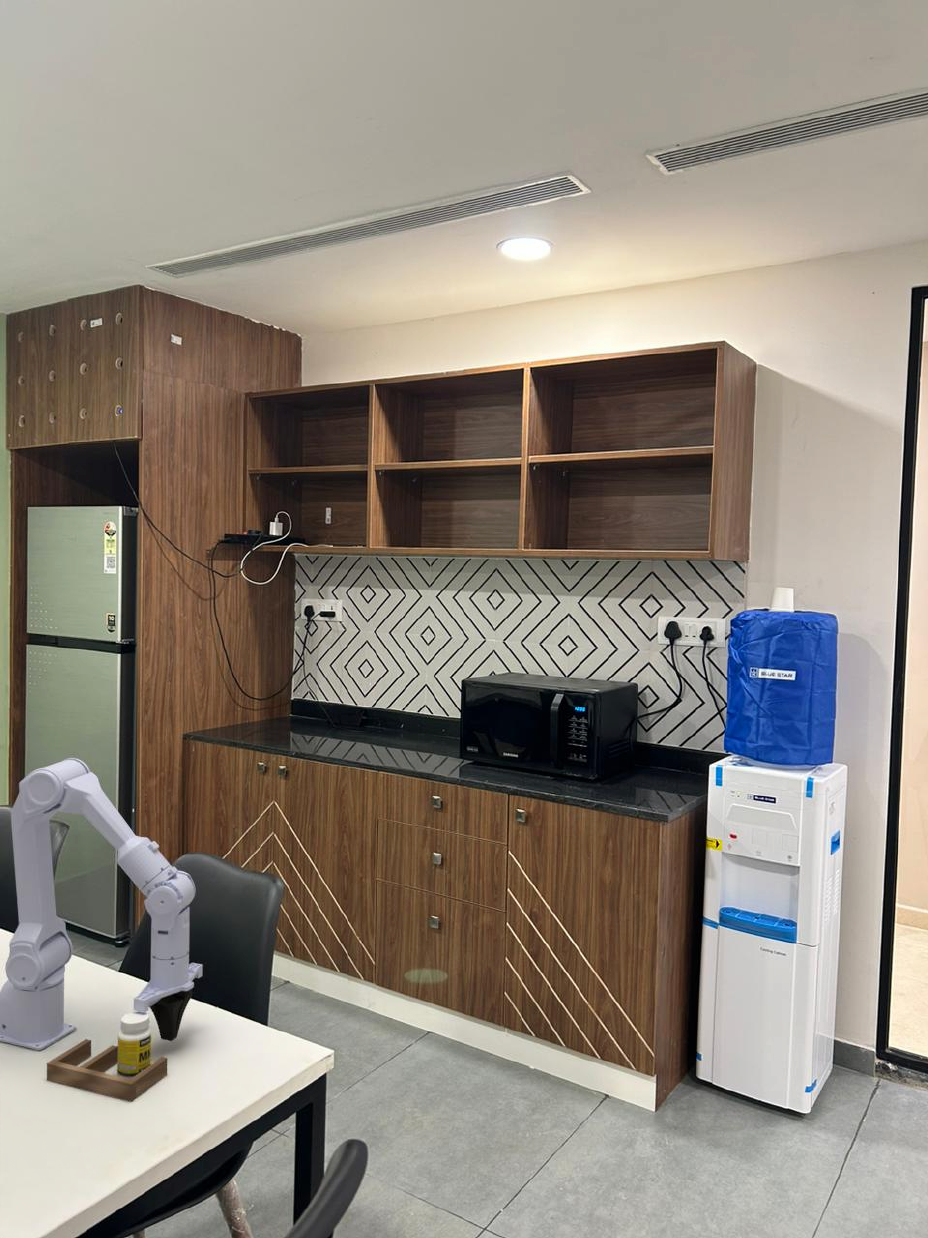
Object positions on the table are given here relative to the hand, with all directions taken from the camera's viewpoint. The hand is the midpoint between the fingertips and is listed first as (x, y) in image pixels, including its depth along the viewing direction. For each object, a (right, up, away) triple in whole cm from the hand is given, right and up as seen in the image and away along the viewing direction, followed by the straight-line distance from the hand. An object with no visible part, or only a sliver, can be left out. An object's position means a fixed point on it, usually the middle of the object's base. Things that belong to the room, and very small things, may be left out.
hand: (168, 1038), depth 150 cm
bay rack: (-6, -2, -9) cm, 11 cm away
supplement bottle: (-3, -2, -8) cm, 9 cm away
